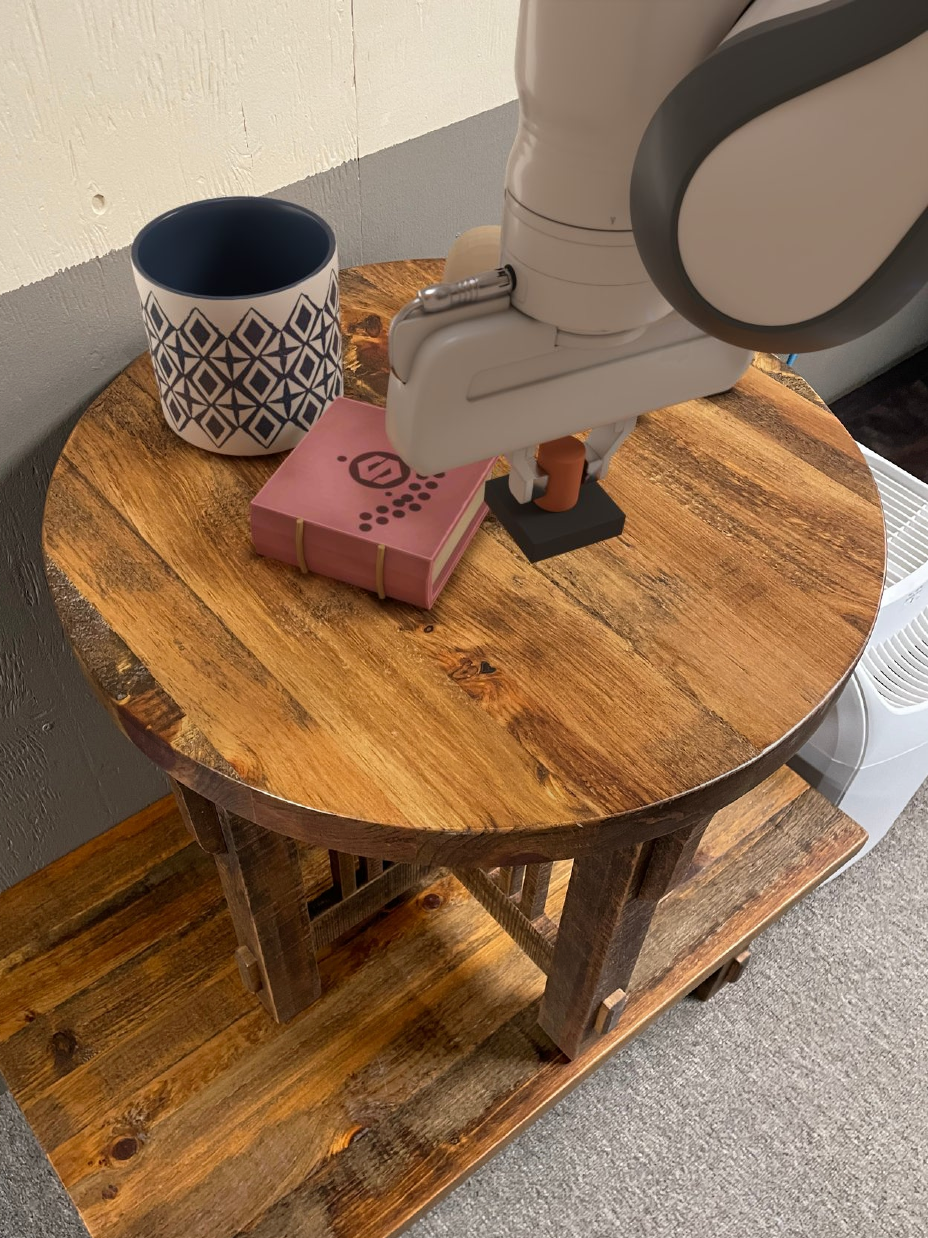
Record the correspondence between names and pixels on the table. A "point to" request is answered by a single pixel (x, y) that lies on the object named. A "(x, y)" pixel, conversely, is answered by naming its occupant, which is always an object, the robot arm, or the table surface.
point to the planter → (241, 321)
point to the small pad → (555, 526)
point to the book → (368, 509)
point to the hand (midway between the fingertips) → (557, 485)
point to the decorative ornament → (473, 253)
